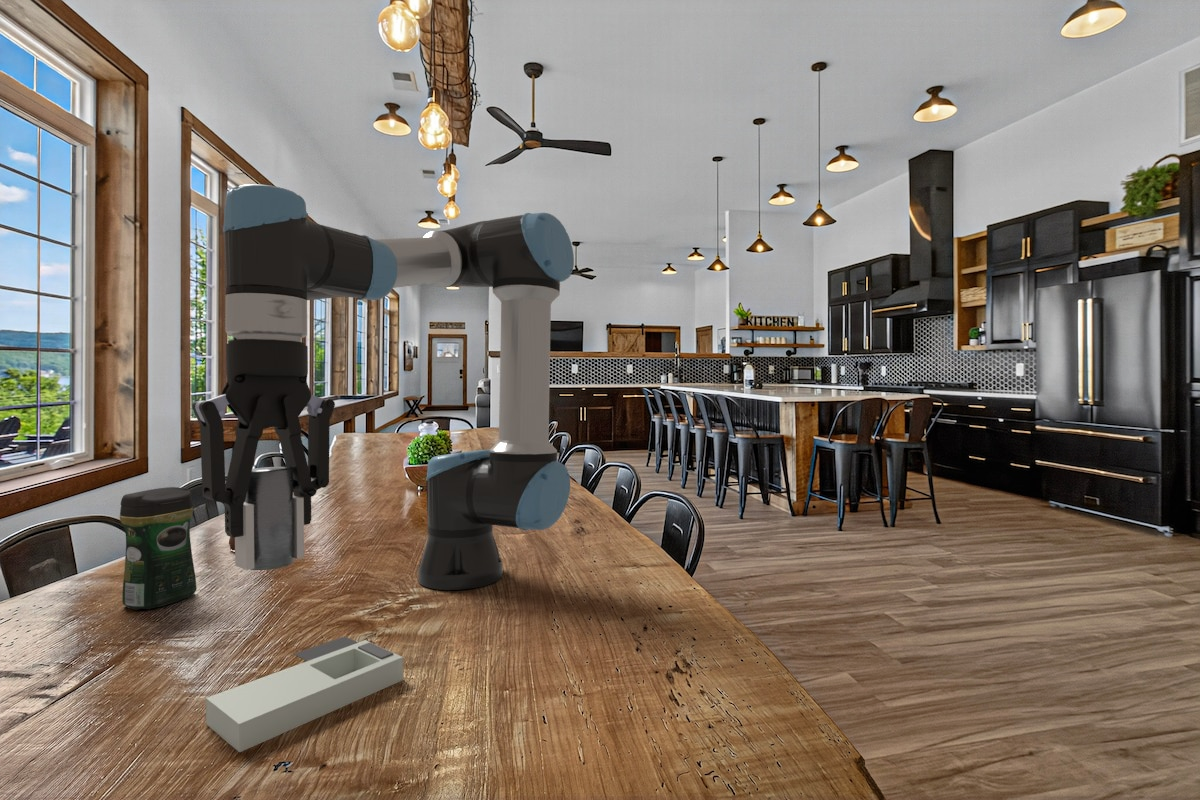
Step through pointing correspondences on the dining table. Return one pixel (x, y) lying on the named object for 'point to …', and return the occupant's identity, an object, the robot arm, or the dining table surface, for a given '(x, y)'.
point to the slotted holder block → (301, 693)
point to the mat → (325, 648)
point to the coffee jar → (157, 547)
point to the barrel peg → (272, 516)
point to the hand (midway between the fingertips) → (270, 560)
